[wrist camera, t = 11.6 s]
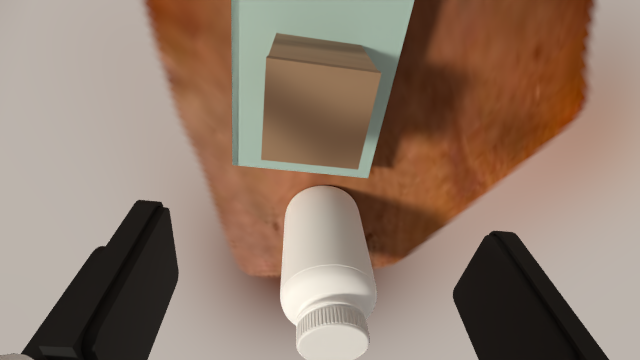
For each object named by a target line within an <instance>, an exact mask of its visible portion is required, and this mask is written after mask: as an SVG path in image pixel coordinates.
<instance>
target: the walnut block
mask: <svg viewBox="0 0 640 360" xmlns="http://www.w3.org/2000/svg"><path fill="white" fill-rule="evenodd" d="M380 77H381V72H380V71H378V70H377V68H376V67H375V65H374V64H373V62H372V61H371V59H370V58H369V56H368V55H367V53H366V52H365V50H364V48H363V47H362V45H357V44H350V43H343V42H336V41H329V40H322V39H316V38H309V37H302V36H295V35H288V34H281V33H276V36H275V38H274V41H273V44H272V47H271V49H270V52H269V55H268V56H267V57H266V70H265V90H264V110H263V130H262V151H261V160H267V161H277V162H286V163H296V164H306V165H316V166H326V167H336V168H346V169H356V170H358V168H359V164H360V160H361V156H362V151H363V147H364V143H365V139H366V135H367V131H368V127H369V123H370V118H371V114H372V110H373V106H374V102H375V98H376V94H377V90H378V85H379V81H380Z"/></svg>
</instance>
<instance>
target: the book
mask: <svg viewBox="0 0 640 360" xmlns="http://www.w3.org/2000/svg"><path fill="white" fill-rule="evenodd" d="M413 4H414V0H231V15H232V155H233V165H239V166H249V167H259V168H270V169H280V170H290V171H301V172H311V173H321V174H331V175H342V176H352V177H362V178H368V176H369V172H370V168H371V164H372V160H373V157H374V153H375V149H376V145H377V141H378V138H379V134H380V130H381V126H382V122H383V118H384V115H385V111H386V107H387V103H388V99H389V96H390V92H391V88H392V84H393V80H394V76H395V73H396V69H397V65H398V61H399V57H400V54H401V50H402V46H403V42H404V38H405V35H406V31H407V27H408V23H409V19H410V15H411V12H412V8H413ZM276 33H281V34H288V35H295V36H302V37H309V38H316V39H322V40H329V41H336V42H343V43H350V44H357V45H362V47H363V48H364V50H365V52H366V53H367V55H368V56H369V58H370V59H371V61H372V62H373V64H374V65H375V67H376V68H377V70H378V71H380V72H381V77H380V81H379V85H378V90H377V94H376V98H375V102H374V106H373V110H372V114H371V118H370V123H369V127H368V131H367V135H366V139H365V143H364V147H363V151H362V156H361V160H360V164H359V168H358V170H356V169H346V168H336V167H326V166H316V165H306V164H296V163H286V162H277V161H267V160H261V151H262V130H263V110H264V90H265V70H266V57H267V56H268V55H269V52H270V49H271V47H272V44H273V41H274V38H275V36H276Z"/></svg>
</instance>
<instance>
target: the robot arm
mask: <svg viewBox="0 0 640 360" xmlns="http://www.w3.org/2000/svg"><path fill="white" fill-rule="evenodd" d="M177 281H178V265H177V258H176V251H175V244H174V238H173V231H172V224H171V218H170V211H169V209H168V208H165V207H163V205H162V203H161V202H157V201H145V200H138V201H136V203H135V204H134V206H133V207H132V208H131V210H130V211H129V213H128V214H127V216H126V217H125V219H124V220H123V222H122V223H121V225H120V226H119V227H118V229H117V230H116V232H115V234H114V235H113V236H112V238H111V239H110V241H109V242H108V244H107V245H106V246H100V247H98V248H97V249H95V250H94V251H93V252H92V254H91V255H90V256H89V258H88V259H87V261H86V262H85V264H84V265H83V266H82V268H81V269H80V271H79V272H78V273H77V275H76V276H75V278H74V279H73V281H72V282H71V283H70V285H69V286H68V288H67V289H66V290H65V292H64V293H63V295H62V296H61V298H60V299H59V301H58V302H57V303H56V305H55V306H54V307H53V309H52V310H51V312H50V313H49V315H48V316H47V317H46V319H45V320H44V322H43V323H42V325H41V326H40V327H39V329H38V330H37V332H36V333H35V334H34V336H33V337H32V339H31V340H30V342H29V343H28V344H27V346H26V347H25V349H24V350H23V351H22V353H21V354H14V353H13V354H7V355H0V360H147V359H148V357H149V354H150V352H151V349H152V346H153V343H154V341H155V338H156V336H157V333H158V331H159V328H160V325H161V323H162V320H163V318H164V315H165V313H166V310H167V308H168V305H169V302H170V300H171V297H172V294H173V292H174V289H175V287H176V284H177ZM453 299H454V302H455V305H456V307H457V309H458V312H459V314H460V317H461V319H462V321H463V324H464V326H465V328H466V331H467V333H468V335H469V338H470V340H471V342H472V345H473V347H474V350H475V352H476V354H477V357H478V359H479V360H609V359H608V358H607V356H606V355H605V353H604V352H603V351H602V349H601V348H600V347H599V345H598V344H597V343H596V341H595V340H594V339H593V337H592V336H591V335H590V333H589V332H588V331H587V329H586V328H585V326H584V325H583V324H582V322H581V321H580V320H579V319H578V317H577V316H576V314H575V313H574V312H573V310H572V309H571V308H570V306H569V305H568V303H567V302H566V301H565V300H564V298H563V297H562V295H561V294H560V293H559V292H558V290H557V289H556V287H555V286H554V284H553V283H552V282H551V281H550V279H549V278H548V276H547V275H546V274H545V272H544V271H543V270H542V268H541V267H540V266H539V264H538V263H537V261H536V260H535V259H534V258H533V256H532V255H531V254H530V252H529V251H528V250H527V248H526V247H525V245H524V244H523V243H522V241H521V240H520V238H519V237H518V236H517V235H516V234H515V233H513V232H503V231H492V232H491V233H490V234H489V235H487V236H485V237H484V239H483V241H482V242H481V244H480V246H479V247H478V249H477V251H476V252H475V254H474V256H473V257H472V259H471V261H470V263H469V264H468V266H467V268H466V269H465V271H464V273H463V274H462V276H461V278H460V280H459V281H458V283H457V285H456V286H455V288H454V290H453Z"/></svg>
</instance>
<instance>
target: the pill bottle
mask: <svg viewBox="0 0 640 360" xmlns="http://www.w3.org/2000/svg"><path fill="white" fill-rule="evenodd" d="M376 298H377V289H376V283H375V279H374V274H373V270H372V266H371V261H370V257H369V253H368V248H367V244H366V240H365V235H364V231H363V227H362V222H361V218H360V214H359V210H358V207H357V205H356V203H355V201H354V200H353V198H352V197H351V196H350V195H349V194H348V193H346V192H345V191H343V190H341V189H339V188H336V187H333V186H314V187H310V188H307V189H305V190H303V191H301V192H300V193H298V194H297V195H296V196H295V197H294V198H293V199H292V200H291V201H290V203H289V205H288V207H287V210H286V214H285V226H284V242H283V258H282V273H281V290H280V301H281V305H282V308H283V311H284V313H285V315H286V316H287V318H288V319H289V320H290V321H291V322H292V323H293V324H294V325H296V328H297V329H296V346H297V350H298V352H299V353H300V355H301V356H302V357H303V358H305V359H306V360H354V359H356V358H358V357H359V356H361V355H362V354H363V353H364V352H365V351H366V350H367V348H368V346H369V343H370V338H369V332H368V326H367V322H366V319H367V318H368V317H369V316H370V314H371V313H372V311H373V309H374V307H375V304H376Z"/></svg>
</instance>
